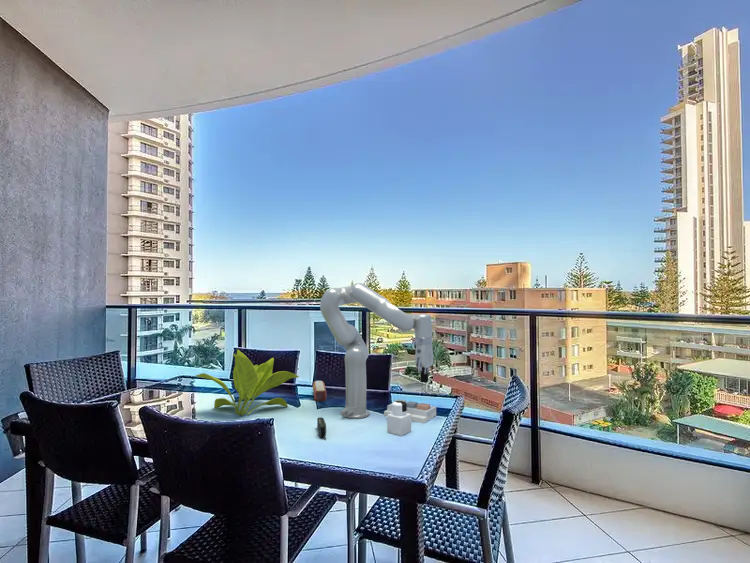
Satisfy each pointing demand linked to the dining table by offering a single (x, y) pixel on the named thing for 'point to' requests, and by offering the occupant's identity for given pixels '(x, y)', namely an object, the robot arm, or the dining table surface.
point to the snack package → (319, 391)
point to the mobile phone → (321, 427)
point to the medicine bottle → (399, 419)
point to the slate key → (412, 404)
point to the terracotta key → (423, 406)
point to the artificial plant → (251, 383)
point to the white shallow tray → (416, 413)
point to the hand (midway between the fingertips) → (424, 382)
